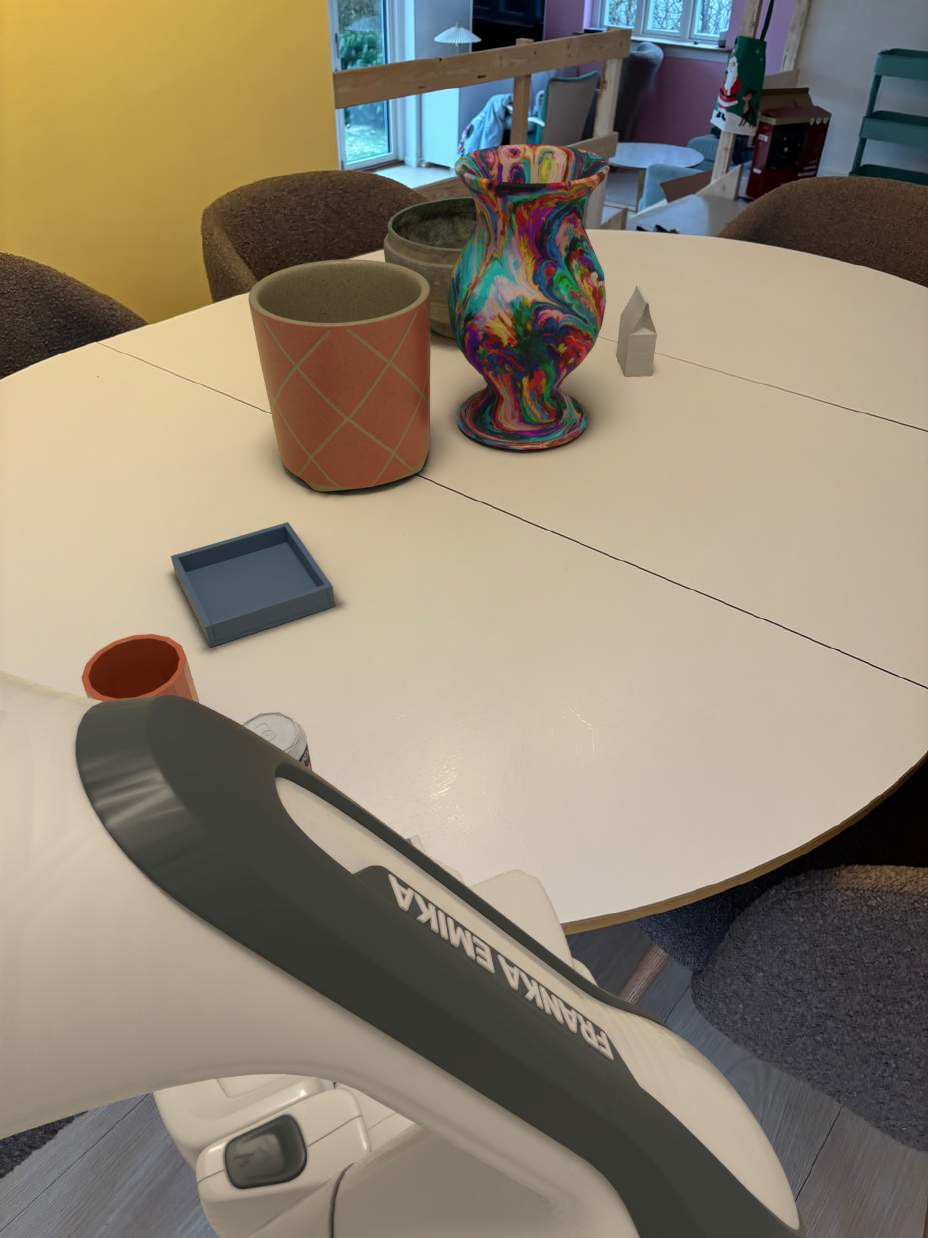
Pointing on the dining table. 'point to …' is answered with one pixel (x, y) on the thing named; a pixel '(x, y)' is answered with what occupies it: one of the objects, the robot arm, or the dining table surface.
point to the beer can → (282, 734)
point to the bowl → (432, 247)
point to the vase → (527, 291)
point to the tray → (252, 583)
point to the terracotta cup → (139, 670)
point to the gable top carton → (636, 337)
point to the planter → (346, 370)
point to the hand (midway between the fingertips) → (322, 875)
